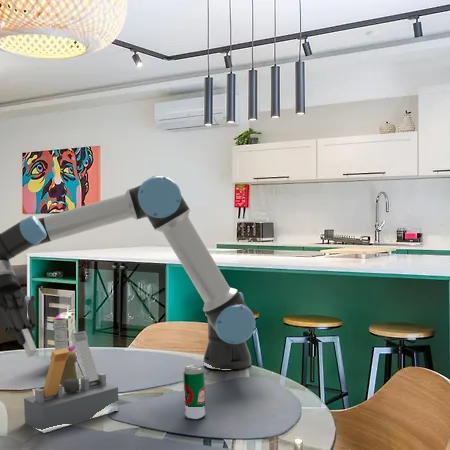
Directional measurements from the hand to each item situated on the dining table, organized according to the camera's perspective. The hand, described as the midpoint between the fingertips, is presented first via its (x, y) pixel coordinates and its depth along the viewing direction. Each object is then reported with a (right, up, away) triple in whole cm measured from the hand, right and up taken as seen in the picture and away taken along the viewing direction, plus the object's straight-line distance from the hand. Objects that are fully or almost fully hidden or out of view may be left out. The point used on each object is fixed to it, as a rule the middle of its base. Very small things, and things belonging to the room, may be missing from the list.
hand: (32, 353), depth 146 cm
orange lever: (+6, -9, -6) cm, 12 cm away
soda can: (+41, -15, -4) cm, 43 cm away
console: (+10, -15, -1) cm, 19 cm away
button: (+10, -9, -2) cm, 14 cm away
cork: (+4, -15, +20) cm, 25 cm away
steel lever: (+15, -8, +2) cm, 17 cm away
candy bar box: (-5, -15, +49) cm, 51 cm away
